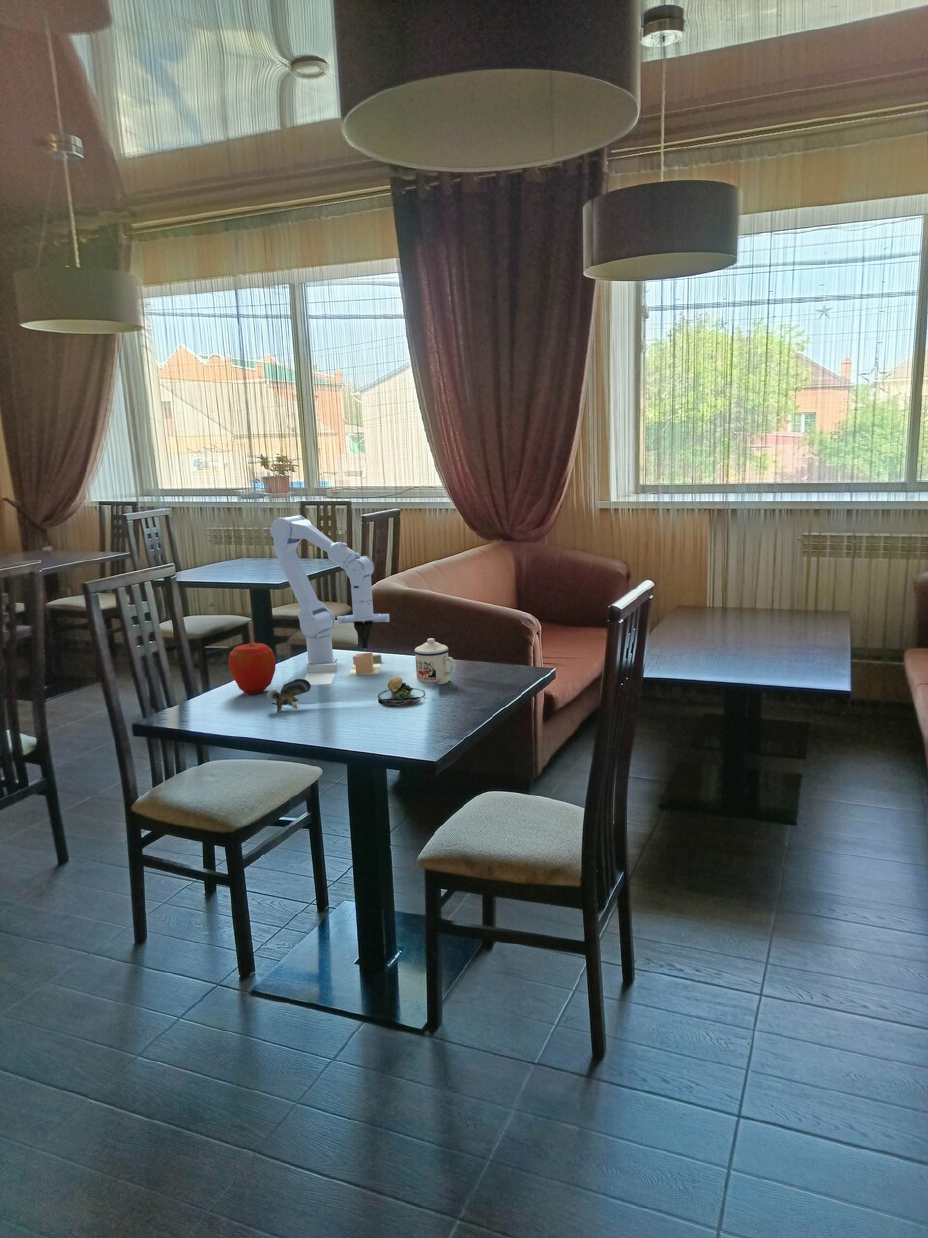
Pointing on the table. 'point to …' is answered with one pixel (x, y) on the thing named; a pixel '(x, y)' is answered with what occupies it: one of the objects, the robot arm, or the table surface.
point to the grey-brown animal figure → (289, 693)
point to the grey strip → (321, 673)
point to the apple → (252, 667)
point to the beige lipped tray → (375, 665)
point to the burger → (398, 694)
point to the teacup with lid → (433, 662)
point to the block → (364, 663)
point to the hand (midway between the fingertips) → (365, 647)
